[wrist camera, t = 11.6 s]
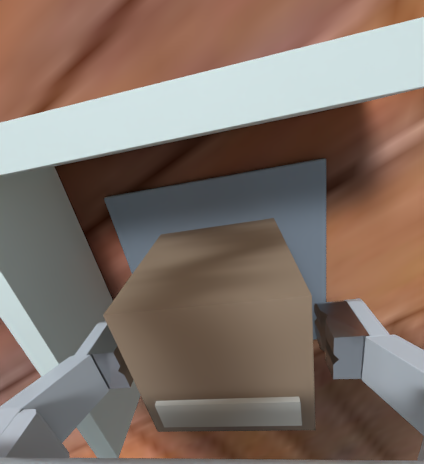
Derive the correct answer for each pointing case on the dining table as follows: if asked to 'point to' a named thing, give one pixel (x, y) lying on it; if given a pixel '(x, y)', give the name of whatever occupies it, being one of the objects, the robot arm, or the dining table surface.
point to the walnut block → (219, 331)
